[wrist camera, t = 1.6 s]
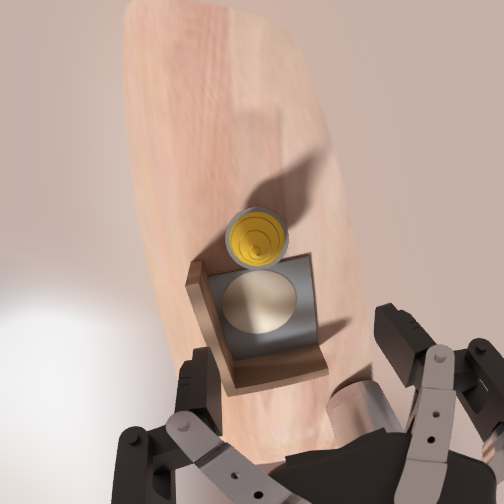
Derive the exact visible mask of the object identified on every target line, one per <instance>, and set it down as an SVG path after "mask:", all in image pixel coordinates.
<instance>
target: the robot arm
mask: <svg viewBox="0 0 504 504" xmlns="http://www.w3.org/2000/svg"><path fill="white" fill-rule="evenodd" d="M374 337H375V340H376V342H377V344H378V345H379V347H380V348H381V350H382V352H383V353H384V355H385V356H386V358H387V359H388V361H389V362H390V364H391V365H392V367H393V368H394V370H395V372H396V373H397V375H398V376H399V378H400V380H401V381H402V383H403V384H404V386H405V388H407V387H409V386H411V385H414V386H415V388H416V389H415V392H414V396H413V401H412V405H411V410H410V414H409V418H408V422H407V425H406V428H405V431H404V430H403V428H402V426H401V424H400V422H399V421H398V419H397V417H396V415H395V413H394V411H393V409H392V408H391V406H390V404H389V402H388V400H387V398H386V396H385V395H384V393H383V391H382V389H381V388H380V386H379V384H378V383H377V382H375V381H369V380H366V381H360V382H356V383H353V384H351V385H349V386H347V387H345V388H343V389H341V390H340V391H338V392H337V393H336V394H335V395H334V396H333V397H332V398H331V399H330V400H329V402H328V403H327V406H326V411H327V414H328V416H329V419H330V422H331V425H332V428H333V431H334V434H335V437H336V440H337V443H338V445H339V449H331V450H314V451H307V452H303V453H299V454H294V455H290V456H285V459H286V463H283V464H281V465H279V466H278V467H276V468H274V469H273V470H272V471H270V472H269V473H268V474H266V473H264V472H263V471H262V470H261V469H259V468H258V467H257V466H256V465H254V464H253V463H252V462H251V461H249V460H248V459H247V458H246V457H244V456H243V455H242V454H241V453H240V452H239V451H237V450H236V449H235V448H234V447H233V446H231V445H230V444H229V443H227V442H226V443H225V442H224V441H222V440H221V439H220V438H219V437H218V436H223V432H222V404H221V377H220V372H219V368H218V366H217V363H216V361H215V358H214V356H213V353H212V350H211V348H210V347H209V346H208V347H202V348H196V349H194V350H193V357H192V360H188V361H185V362H184V363H183V365H182V367H181V368H180V372H179V380H178V387H177V396H176V404H175V405H176V406H175V412H174V414H173V415H172V416H171V417H170V418H169V419H168V420H167V422H166V424H165V425H164V426H161V427H159V428H156V429H153V430H150V431H146V430H145V429H144V428H142V427H138V426H134V427H130V428H128V429H126V430H125V431H123V432H122V434H121V436H120V438H119V442H118V449H117V457H116V463H115V471H114V480H113V490H112V500H111V504H176V486H175V485H176V484H175V469H178V468H181V467H184V466H187V465H190V464H193V463H194V464H195V465H196V466H197V467H198V468H199V469H200V470H201V471H202V472H203V473H204V474H205V475H206V476H207V477H208V478H209V480H210V481H212V483H214V484H215V485H216V486H217V487H218V488H219V489H220V490H221V491H222V492H223V493H224V494H225V495H226V496H227V497H228V498H229V499H231V500H232V501H233V502H234V503H235V504H496V487H497V484H499V483H500V482H502V481H503V480H504V358H503V357H502V356H501V355H500V353H499V352H498V351H497V350H496V349H495V348H494V346H493V345H492V344H491V343H490V342H489V341H487V340H486V339H482V338H476V339H473V340H472V341H471V342H470V343H469V346H468V348H467V349H462V350H456V351H452V349H451V348H449V347H448V346H445V345H437V344H436V343H435V342H434V341H433V339H432V338H431V337H430V336H429V335H428V334H427V332H426V331H425V330H424V329H423V328H422V327H421V326H420V324H419V323H418V322H416V320H415V319H414V318H413V317H412V315H411V314H409V313H407V312H405V311H404V310H399V311H398V310H397V309H396V308H395V306H394V305H393V304H392V303H388V304H385V305H382V306H378V307H376V310H375V322H374ZM480 380H481V381H482V382H483V383H482V382H481V381H480ZM483 384H484V385H485V386H486V388H487V389H488V391H487V389H486V388H485V386H484V385H483ZM456 396H457V397H458V399H459V400H460V402H461V404H462V406H463V407H464V409H465V411H466V412H467V414H468V416H469V417H470V419H471V421H472V422H473V424H474V426H475V428H476V430H477V431H478V433H479V435H480V437H481V439H482V440H483V442H484V444H483V447H482V460H483V461H480V460H477V459H474V458H471V457H468V456H465V455H462V454H459V453H457V452H454V451H451V450H449V445H450V439H451V433H452V426H453V419H454V410H455V401H456Z"/></svg>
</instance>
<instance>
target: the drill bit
mask: <svg viewBox="0 0 504 504" xmlns="http://www.w3.org/2000/svg"><path fill="white" fill-rule="evenodd" d="M288 243H289V234H288V230H287V227H286V225H285V223H284V221H283V220H282V219H281V218H280V217H279V216H278V215H277V214H276V213H275V212H273V211H272V210H270V209H267V208H263V207H251V208H247V209H245V210H242V211H241V212H239V213H238V214H237V215H236V216H235V217H234V218H233V219H232V220H231V221H230V223H229V225H228V227H227V230H226V235H225V244H226V247H227V251H228V253H229V255H230V256H231V257H232V259H233V260H234V261H235V262H236V263H237V264H239V265H240V266H242V267H244V268H247V269H251V270H263V269H267V268H270V267H272V266H274V265H275V264H277V263H278V262H279V261H280V260H281V259H282V258H283V256H284V255H285V253H286V250H287V248H288Z"/></svg>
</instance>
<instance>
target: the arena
mask: <svg viewBox="0 0 504 504" xmlns="http://www.w3.org/2000/svg"><path fill="white" fill-rule="evenodd" d="M185 287H186V290H187V293H188V296H189V299H190V302H191V304H192V307H193V310H194V313H195V316H196V318H197V321H198V324H199V326H200V329H201V332H202V334H203V337H204V340H205V342H206V345H207V347H208V346H209V347H210V348H211V350H212V353H213V356H214V358H215V361H216V363H217V366H218V368H219V372H220V377H221V382H222V385H223V387H224V389H225V392H226V394H227V396H228V397H230V396H236V395H242V394H248V393H253V392H258V391H264V390H268V389H273V388H278V387H282V386H287V385H291V384H295V383H299V382H303V381H307V380H311V379H315V378H319V377H322V376H326V375H329V373H328V366H327V364H326V361H325V359H324V357H323V354H322V352H321V350H320V347H319V345H318V343H317V331H316V319H315V308H314V298H313V288H312V279H311V270H310V262H309V256H308V255H306V256H302V257H297V258H293V259H288V260H284V261H279V262H278V263H277V264H275V265H274V266H272V267H270V268H267V269H263V270H251V269H243V270H238V271H233V272H229V273H224V274H219V275H215V276H210V277H207V274H206V270H205V267H204V263H203V260H198V261H193V262H191V264H190V268H189V272H188V276H187V280H186V285H185Z"/></svg>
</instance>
